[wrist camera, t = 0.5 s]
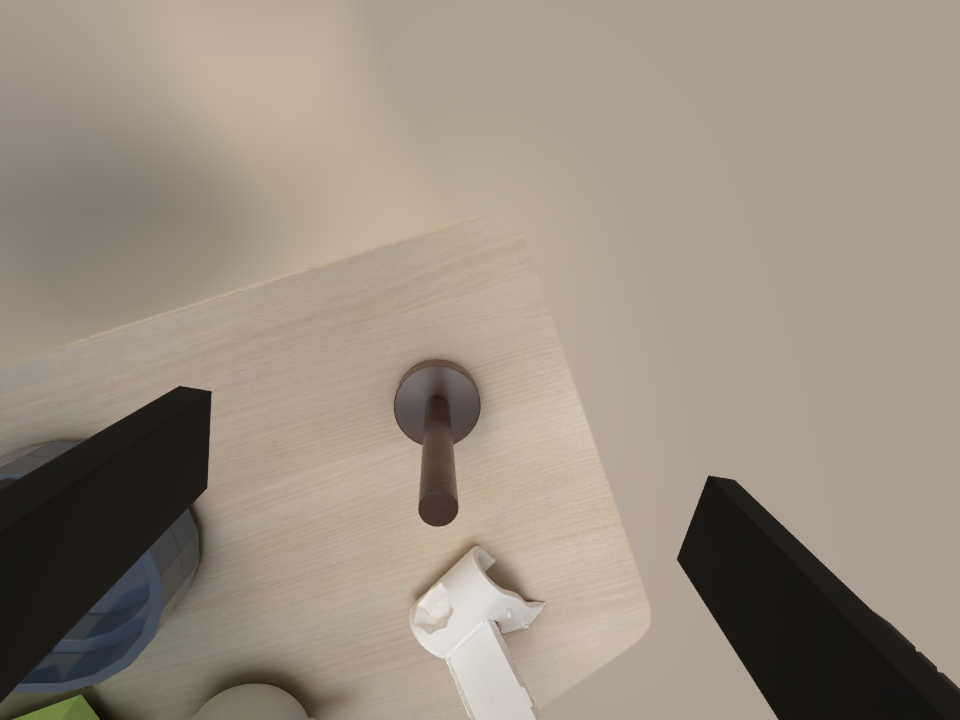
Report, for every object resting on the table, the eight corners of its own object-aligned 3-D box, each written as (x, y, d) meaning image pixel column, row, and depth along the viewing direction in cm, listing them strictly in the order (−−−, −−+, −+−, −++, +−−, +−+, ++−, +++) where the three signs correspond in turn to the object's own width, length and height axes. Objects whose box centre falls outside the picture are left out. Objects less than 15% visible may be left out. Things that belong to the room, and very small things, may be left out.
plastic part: (471, 537, 40) (485, 649, 28) (549, 604, 42) (591, 732, 30) (409, 596, 40) (399, 728, 29) (489, 658, 42) (509, 804, 31)
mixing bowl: (-42, 431, 34) (-142, 468, 28) (200, 443, 36) (154, 480, 30) (-11, 625, 37) (-94, 694, 32) (207, 627, 39) (167, 692, 33)
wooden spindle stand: (398, 356, 35) (369, 439, 20) (481, 362, 36) (516, 446, 21) (393, 435, 37) (363, 569, 21) (474, 439, 38) (501, 572, 22)
